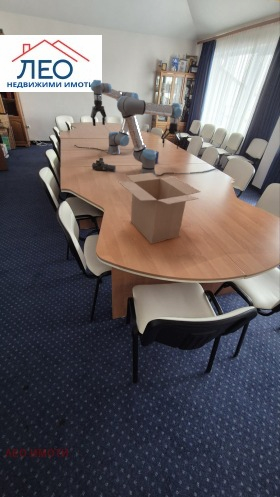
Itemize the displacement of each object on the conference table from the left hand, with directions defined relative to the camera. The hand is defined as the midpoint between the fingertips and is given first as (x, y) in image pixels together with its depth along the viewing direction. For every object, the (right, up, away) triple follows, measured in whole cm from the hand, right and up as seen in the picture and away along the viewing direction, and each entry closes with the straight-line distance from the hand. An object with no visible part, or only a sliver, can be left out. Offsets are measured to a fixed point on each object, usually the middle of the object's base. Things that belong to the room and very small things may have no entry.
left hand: (99, 125), depth 223 cm
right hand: (+71, -26, -8) cm, 76 cm away
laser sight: (+6, -49, -9) cm, 50 cm away
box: (+50, -113, -92) cm, 154 cm away
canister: (+58, -30, +22) cm, 69 cm away
